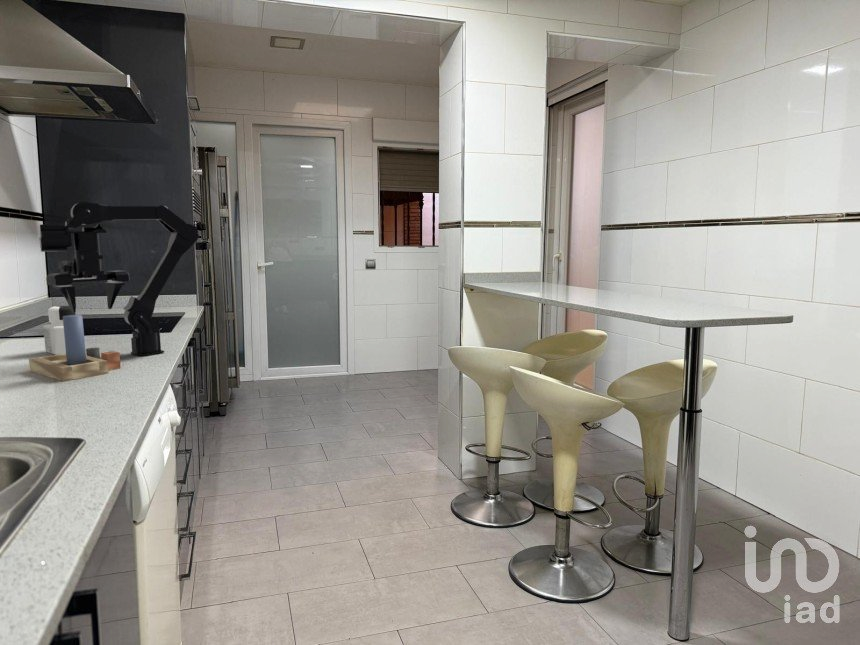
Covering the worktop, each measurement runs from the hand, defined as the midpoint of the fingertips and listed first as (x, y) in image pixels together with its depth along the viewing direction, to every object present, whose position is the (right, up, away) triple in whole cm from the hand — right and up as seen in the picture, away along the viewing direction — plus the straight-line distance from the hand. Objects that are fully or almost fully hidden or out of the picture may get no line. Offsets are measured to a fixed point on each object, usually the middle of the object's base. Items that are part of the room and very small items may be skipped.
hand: (92, 310), depth 160 cm
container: (-15, -12, +12) cm, 22 cm away
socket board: (+3, -15, -12) cm, 19 cm away
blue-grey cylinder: (+5, -16, -16) cm, 23 cm away
